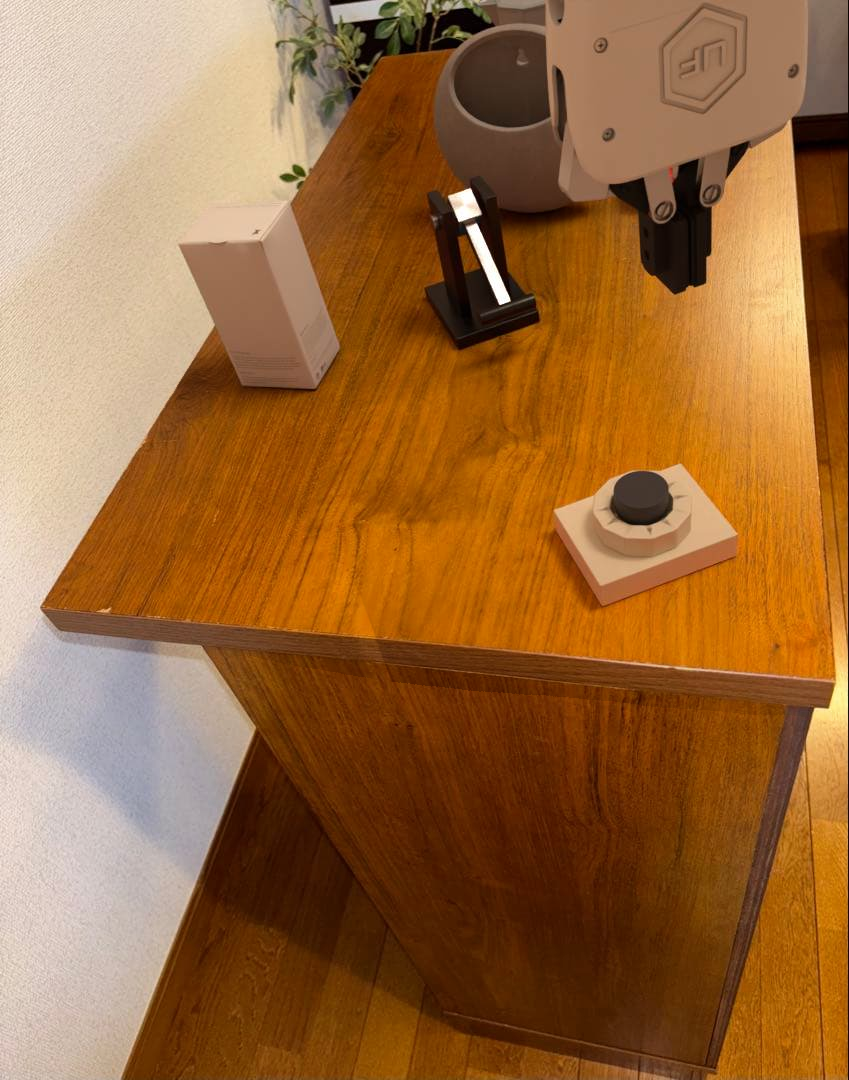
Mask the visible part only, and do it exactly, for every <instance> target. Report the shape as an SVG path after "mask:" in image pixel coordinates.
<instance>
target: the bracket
mask: <svg viewBox="0 0 849 1080" xmlns="http://www.w3.org/2000/svg"><path fill="white" fill-rule="evenodd" d="M469 181H470V187H471V190H472V192H473V194H474V197H475V199H476V201H477V204H478V206H479V208H480V210H481V213H482V223H481V230H480V231H481V233H482V236H483V238H484V240H485V243H486V245H487V247H488V249H489V252H490V254H491V256H492V258H493V261H494V263H495V265H496V268H497V270H498V272H499V274H500V277H501V279H502V281H503V284H504V286H505V288H506V290H507V293H508V295H509V297H510V299H511V300H512V299H515V298H518V297H521V296H524V295H527V294H526V293H525V291H524V290H523V289H522V287H521V286H520V285H519V284H518V282H517V281H516V280H515V278H514V277H513V276H512V274H511V273H510V272H509V270H508V262H507V257H506V249H505V244H504V237H503V230H502V223H501V218H500V217H501V216H500V215H501V214H500V208H499V204H498V200H497V195H496V194H495V193H494V192H493V191H492V190H491V188H490V187H489V186H488V185H487V184H486V183H485V181H484V180H483V179H482V178H481V177H480V176H476V177H473V178H470V179H469ZM426 197H427V202H428V207H429V212H430V215H429V221H430V225H431V228H432V230H433V232H434V237H435V242H436V246H437V252H438V257H439V263H440V266H441V271H442V277H443V280H441V281H439V282H436V283H433V284H430V285H428V286H425V287H424V293H425V294H424V295H425V298H426V299H427V301H428V303H429V305H430V306H431V307H432V309H433V311H434V313H435V314H436V316H437V317H438V318H439V320H440V322H441V323H442V325H443V327H444V329H445V330H446V332H447V333H448V335H449V336H450V339H452V341H453V343H454V344H455V346H456V348H457V349H458V350H462V349H466V348H468V347H470V346H473V345H476V344H479V343H482V342H485V341H488V340H491V339H493V338H497V337H500V336H502V335H506V334H508V333H510V332H514V331H516V330H519V329H522V328H525V327H528V326H530V325H534V324H536V323H539V322H540V321H541V320H540V311H539V309H538V308H537V307H536V308H534V309H532V310H529V311H526V312H523V313H520V314H517V315H514V316H512V317H509V318H506V319H503V320H500V321H497V322H494V323H492V324H489V325H486V326H483V327H481V325H480V324H479V321H478V318H477V312H478V311H481V310H484V309H487V308H490V307H492V306H495V305H496V303H495V301H494V298H493V296H492V294H491V291H490V289H489V287H488V285H487V282H486V280H485V278H484V275H483V273H482V271H481V268H480V267H479V268H477V269H473V270H471V271H467V272H465V269H464V263H463V259H462V252H461V248H460V242H459V237H458V236H457V230H456V225H455V220H454V214H453V210H452V209H451V207H450V206H449V205H448V203H447V200H446V199H445V197H443V195H442V194H441V193H440V191H439V190H438V189H434V190H431V191H428V192H426Z"/></svg>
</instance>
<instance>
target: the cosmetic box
mask: <svg viewBox="0 0 849 1080" xmlns="http://www.w3.org/2000/svg"><path fill="white" fill-rule="evenodd" d="M177 245H178V248H179V249H180V252H181V254H182V256H183V258H184V260H185V262H186V265H187V268H188V269H189V272H190V274H191V276H192V278H193V280H194V282H195V284H196V287H197V289H198V291H199V294H200V296H201V298H202V300H203V302H204V304H205V307H206V310H207V311H208V313H209V315H210V318H211V319H212V322H213V324H214V326H215V328H216V331H217V333H218V335H219V338H220V340H221V343H222V344H223V346H224V349H225V350H226V353H227V355H228V357H229V360H230V362H231V364H232V366H233V369H234V370H235V373H236V375H237V377H238V379H239V381H240V384H241V386H242V387H257V388H258V387H261V388H282V389H302V390H303V389H304V390H316V389H317V388H318V386H319V385H320V383H321V382H322V380H323V378H324V376H325V375H326V373H327V372H328V371H329V368H330V366H331V365H332V363H333V361H334V360H335V358H336V356H337V355H338V353H339V351H340V349H341V345H340V343H339V340H338V336H337V335H336V331H335V327H334V326H333V323H332V319H331V318H330V314H329V311H328V308H327V306H326V303H325V300H324V297H323V294H322V291H321V288H320V285H319V283H318V282H319V281H318V280H317V277H316V274H315V271H314V267H313V266H312V263H311V260H310V257H309V253H308V250H307V248H306V245H305V242H304V240H303V236H302V234H301V231H300V227H299V225H298V223H297V219H296V217H295V213H294V211H293V208H292V205H291V202H290V200H276V201H275V200H274V201H272V200H271V201H253V202H222V203H218V202H217V203H216V202H215V203H210V204H209V205H208V206H207V207H206V208H205V210H204V211H203V212H202V213H201V215H200V216H199V217H198V218H197V220H196V221H195V222H194V224H193V225H192V226H191V227H190V229H188V231H187V232H186V233H185V234H184V235H183V237H182V238H181V239H180V240H179V241H178V243H177Z"/></svg>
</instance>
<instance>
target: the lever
mask: <svg viewBox="0 0 849 1080" xmlns="http://www.w3.org/2000/svg"><path fill="white" fill-rule="evenodd" d="M446 197H447V199H446V202H447V203H448V205H449V206H450V207H451V209H452V210H453V214H454V220H455V225H456V230H457V236H458V238H460V237H463V236H465V237H466V238H467V241H468V242H469V246H470V248H471V251H472V253H473V255H474V257H475V260H476V261H477V264H478V266H479V268H481V271H482V273H483V275H484V278H485V280H486V282H487V285H488V287H489V289H490V291H491V294H492V296H493V298H494V301H495V303H496V305H495V306H492V307H490V308H487V309H484V310H481V311H478V312H477V318H478V321H479V324H480V325H481V327H483V326H486V325H489V324H492V323H494V322H497V321H500V320H503V319H506V318H509V317H512V316H514V315H517V314H520V313H523V312H526V311H529V310H532V309H534V308H537V306H538V304H537V303H538V302H537V299H536V297H535V295H534V294H533V292H529V293H527V294H526V295H524V296H521V297H518V298H515V299H512V300H511V299H510V297H509V295H508V293H507V290H506V288H505V286H504V284H503V281H502V279H501V277H500V274H499V272H498V270H497V268H496V265H495V263H494V261H493V258H492V256H491V254H490V252H489V249H488V247H487V245H486V243H485V240H484V238H483V236H482V233H481V231H480V230H481V223H482V213H481V210H480V208H479V206H478V204H477V201H476V199H475V197H474V194H473V192H472V190H471V188H469V189H467V188H466V189H464V190H461V191H457V192H455V193H451V194H448V195H446Z"/></svg>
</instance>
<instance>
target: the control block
mask: <svg viewBox="0 0 849 1080" xmlns="http://www.w3.org/2000/svg"><path fill="white" fill-rule="evenodd" d="M635 471H650V472H654V473H657V474H659V475H660V476H662V477H663V478H664V479H665V480H666V482H667V484H668V487H669V510H668V512H667V514H666V516H665V517H664V518H663V519H662V520H660V521H659V522H657V523H654V524H651V525H647V526H641V525H630V524H628V523H625V522H624V521H622V520H621V519H620V518H619V517H618V516H617V514H616V512H615V504H614V486H615V484H616V482H617V481H618V480H619V479H620V478H621V477H622V476H624V475H626V474H628V473H631V472H635ZM553 517H554V524H555V531H556V533H557V534H558V536H559V538H560V539H561V541H562V543H563V545H564V546H565V548H566V550H567V551H568V553H569V555H570V556H571V557H572V559H573V561H574V563H575V565H576V566H577V568H578V569H579V571H580V573H581V574H582V576H583V578H584V579H585V581H586V582H587V585H588V586H589V588H590V589H591V591H592V592H593V594H594V596H595V598H596V600H597V601H598V602H599V604H600V606H601V607H605V606H607V605H610V604H613V603H615V602H618V601H621V600H624V599H626V598H629V597H631V596H634V595H638V594H640V593H642V592H645V591H647V590H651V589H653V588H655V587H658V586H660V585H663V584H667V583H668V582H671V581H674V580H676V579H679V578H682V577H684V576H687V575H689V574H692V573H694V572H698V571H699V570H703V569H705V568H709V567H710V566H711V567H712V566H713V565H716V564H719V563H721V562H724V561H727V560H729V559H733V558H735V557H737V555H738V542H739V541H738V540H739V534H738V532H737V531H736V530H735V529H734V528H733V526H732V525H731V523H730V522H729V521H728V520H727V519H726V517H724V515H723V514H722V513H721V511H720V510H719V509H718V507H717V506H716V504H714V502H713V501H712V500H711V498H709V496H708V495H707V494H706V493H705V491H704V490H703V489H702V487H701V486H700V485H699V484H698V483H697V481H696V480H695V479H694V478H693V476H692V475H691V474H690V473H689V471H688V470H687V469H686V468H685V467H684V465H683V464H682V463H678V464H675V465H672V466H670V467H667V468H663V469H661V470H640V469H639V470H633V469H632V470H630V471H627V472H624V473H621V474H619V475H616V476H613V477H610V478H609V479H608V480H607V481H606V482H605V483H603V485H602V486H601V487H600V488H599V489H598V490H597V491H596V492H595V493H594V494H593V495H590V496H588V497H585V498H582V499H580V500H577V501H574V502H572V503H569V504H566V505H564V506H560V507H559V508H558V507H557V508H556V509H553Z"/></svg>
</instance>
